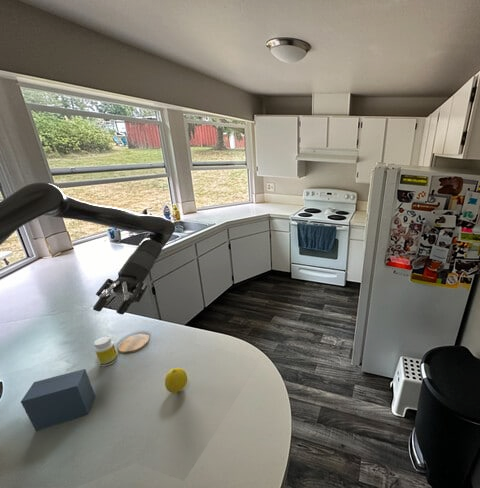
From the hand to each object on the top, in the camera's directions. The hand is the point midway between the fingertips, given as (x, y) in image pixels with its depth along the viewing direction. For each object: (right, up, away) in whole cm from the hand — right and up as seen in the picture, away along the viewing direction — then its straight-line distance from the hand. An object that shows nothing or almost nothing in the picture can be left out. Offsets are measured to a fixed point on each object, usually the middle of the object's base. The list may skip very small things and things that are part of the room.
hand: (107, 312), depth 76 cm
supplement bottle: (-5, -18, +6) cm, 20 cm away
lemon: (+23, -23, -3) cm, 33 cm away
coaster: (-3, -15, +14) cm, 21 cm away
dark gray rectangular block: (-2, -24, -10) cm, 26 cm away
